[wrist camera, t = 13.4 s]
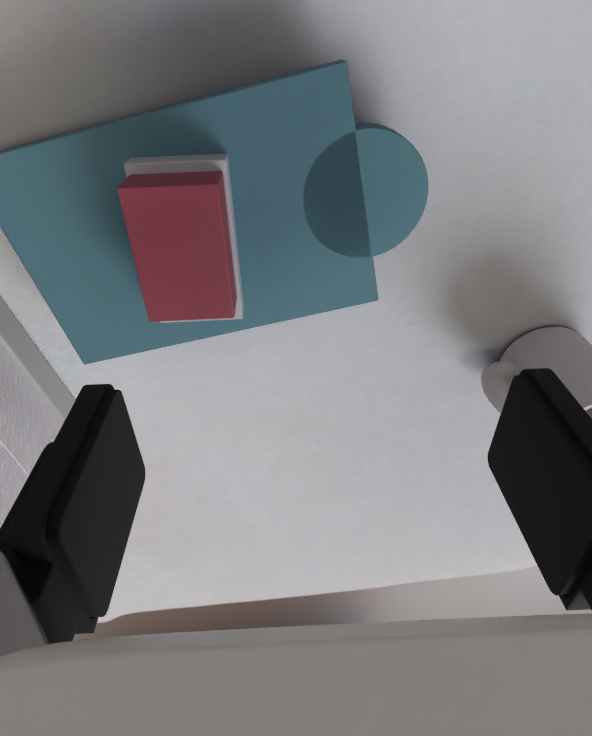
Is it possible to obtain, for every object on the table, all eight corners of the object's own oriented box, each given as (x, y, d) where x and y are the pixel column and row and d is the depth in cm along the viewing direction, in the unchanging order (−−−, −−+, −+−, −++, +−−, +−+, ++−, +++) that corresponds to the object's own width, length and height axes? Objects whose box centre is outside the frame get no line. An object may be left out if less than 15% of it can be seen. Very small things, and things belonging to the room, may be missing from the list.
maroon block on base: (130, 157, 24) (108, 176, 21) (227, 153, 24) (221, 171, 21) (164, 311, 29) (151, 346, 26) (244, 307, 29) (240, 341, 26)
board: (101, 333, 34) (83, 364, 31) (-2, 148, 27) (-39, 163, 24) (417, 263, 32) (434, 288, 29) (401, 39, 25) (421, 40, 22)
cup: (558, 399, 40) (621, 479, 33) (449, 389, 39) (490, 469, 32) (602, 328, 36) (685, 402, 29) (481, 314, 35) (537, 387, 28)
